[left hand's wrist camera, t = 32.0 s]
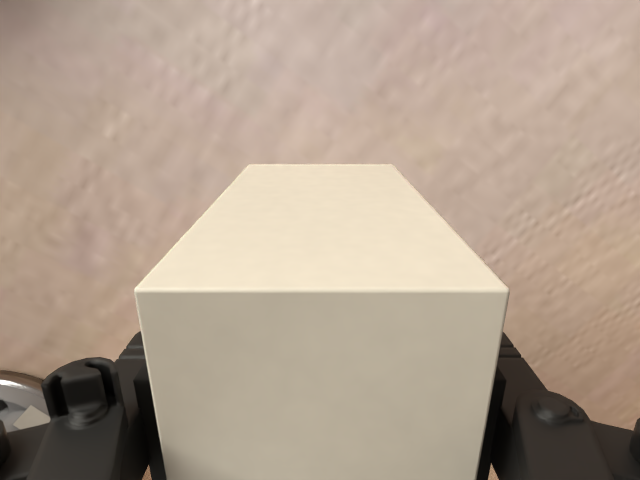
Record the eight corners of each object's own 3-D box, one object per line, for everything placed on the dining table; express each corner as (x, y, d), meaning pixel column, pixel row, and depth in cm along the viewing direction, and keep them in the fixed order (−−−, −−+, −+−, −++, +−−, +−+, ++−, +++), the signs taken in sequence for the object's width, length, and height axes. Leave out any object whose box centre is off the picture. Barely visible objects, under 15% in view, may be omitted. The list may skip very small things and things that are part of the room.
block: (382, 327, 19) (455, 604, 9) (258, 327, 19) (187, 604, 9) (392, 163, 17) (512, 289, 6) (248, 163, 17) (131, 288, 6)
